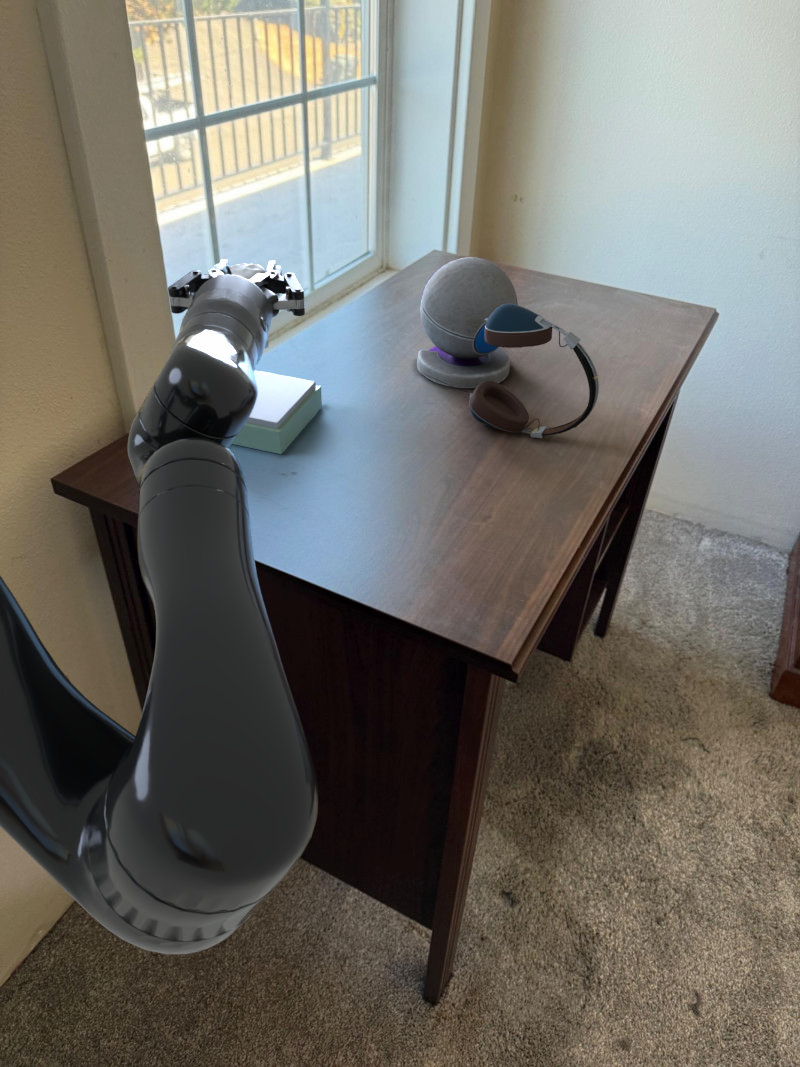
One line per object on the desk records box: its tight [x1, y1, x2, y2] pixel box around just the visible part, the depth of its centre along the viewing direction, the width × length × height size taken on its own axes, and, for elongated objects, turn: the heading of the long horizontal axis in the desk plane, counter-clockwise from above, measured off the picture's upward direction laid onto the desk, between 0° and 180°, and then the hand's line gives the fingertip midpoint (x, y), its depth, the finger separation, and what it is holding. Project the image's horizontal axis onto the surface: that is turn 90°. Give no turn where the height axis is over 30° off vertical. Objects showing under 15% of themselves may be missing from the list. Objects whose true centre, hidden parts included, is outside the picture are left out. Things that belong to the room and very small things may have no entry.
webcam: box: [416, 256, 519, 389], centre depth 100 cm, size 13×13×15 cm
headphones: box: [420, 304, 600, 439], centre depth 88 cm, size 6×15×22 cm
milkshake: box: [225, 262, 269, 350], centre depth 82 cm, size 4×5×10 cm
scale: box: [231, 369, 323, 455], centre depth 90 cm, size 12×12×4 cm
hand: (249, 269), depth 82 cm, fingers closed on milkshake, 4 cm apart
